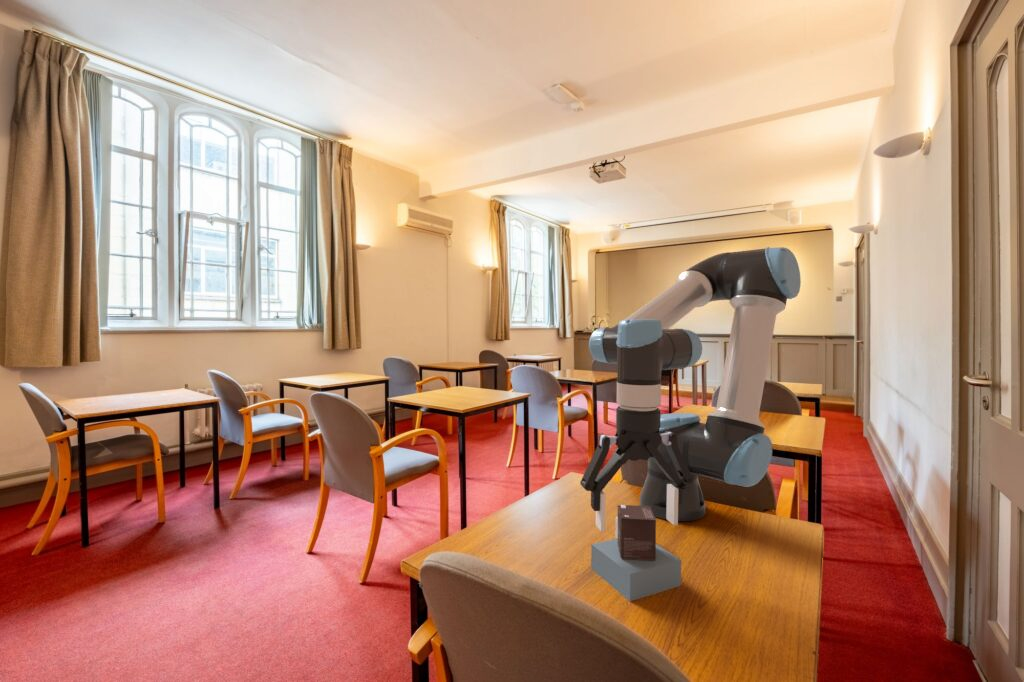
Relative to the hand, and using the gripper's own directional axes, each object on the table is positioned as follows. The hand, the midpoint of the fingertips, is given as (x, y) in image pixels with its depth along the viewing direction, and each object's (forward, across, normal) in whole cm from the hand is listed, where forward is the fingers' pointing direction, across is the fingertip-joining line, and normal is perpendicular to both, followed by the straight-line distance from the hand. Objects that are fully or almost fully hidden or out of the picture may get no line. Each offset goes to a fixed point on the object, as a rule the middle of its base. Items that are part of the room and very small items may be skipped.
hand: (636, 525), depth 83 cm
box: (+5, 0, 0) cm, 5 cm away
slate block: (+10, 0, 0) cm, 10 cm away
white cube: (+10, -5, -12) cm, 16 cm away
